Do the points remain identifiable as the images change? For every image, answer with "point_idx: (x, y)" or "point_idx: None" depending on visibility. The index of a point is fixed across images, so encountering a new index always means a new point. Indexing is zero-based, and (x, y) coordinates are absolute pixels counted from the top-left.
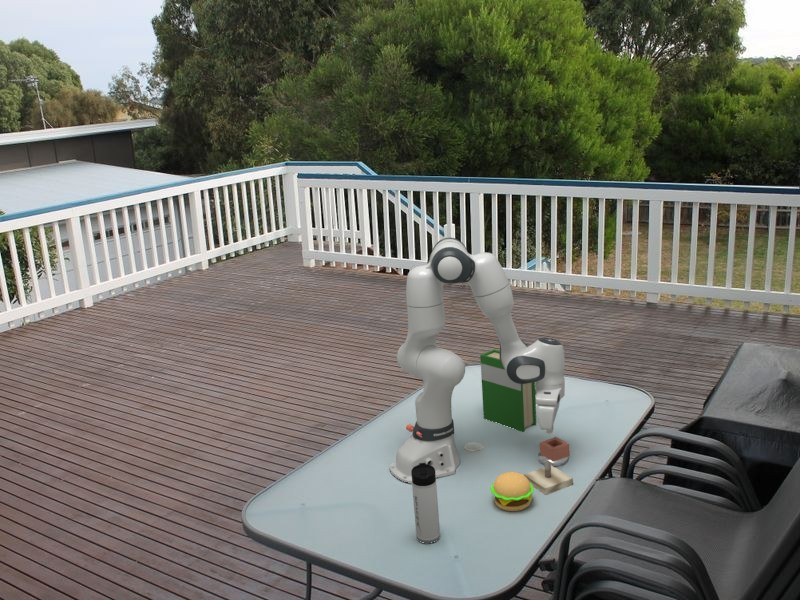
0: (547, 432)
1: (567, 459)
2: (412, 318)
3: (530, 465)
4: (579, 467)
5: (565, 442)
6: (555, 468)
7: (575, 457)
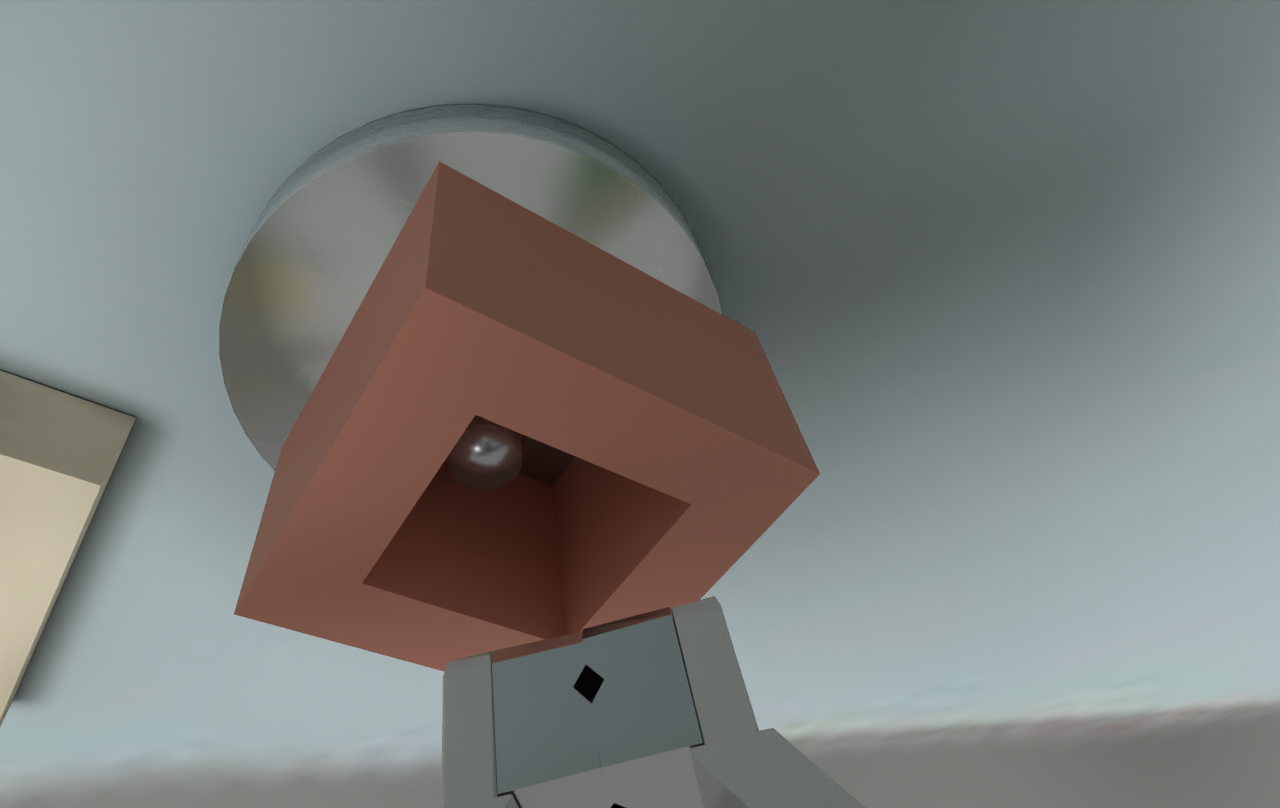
0: (453, 682)
1: None
2: None
3: (76, 55)
4: None
5: None
6: (49, 570)
7: None
